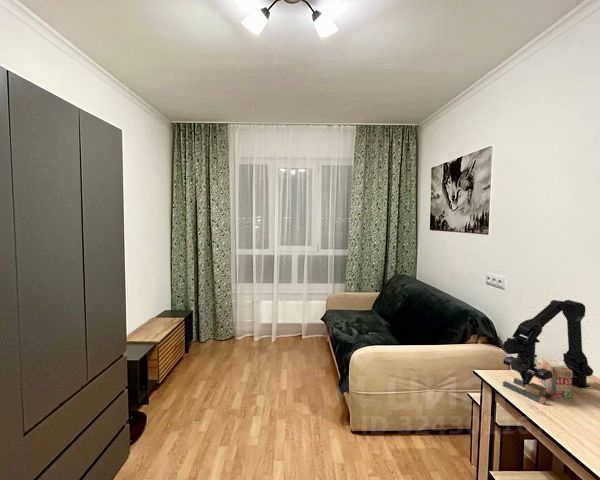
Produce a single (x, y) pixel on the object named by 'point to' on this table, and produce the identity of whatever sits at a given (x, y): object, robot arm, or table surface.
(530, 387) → the walnut block
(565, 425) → the table surface
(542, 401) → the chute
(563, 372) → the stack of blocks
